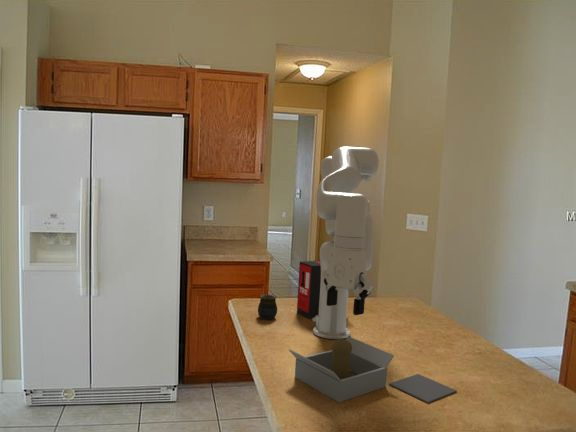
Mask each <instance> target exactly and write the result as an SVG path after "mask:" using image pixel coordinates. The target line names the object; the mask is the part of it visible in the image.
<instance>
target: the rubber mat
mask: <svg viewBox="0 0 576 432" xmlns="http://www.w3.org/2000/svg"><path fill="white" fill-rule="evenodd" d="M388 385H389V386H391V387H393V388H395V389H397V390H398V391H401V392H403V393H405V394H408V395H409V396H412V397H414V398H415V399H417V400H420V401H422V402H424V403H426V404H430V403H432V402H435V401H438V400H440V399H442V398H445V397H448V396H450V395H453V394H456V393H457V391H458V390H456V389H454V388H453V387H450V386H447V385H444V384H442V383H440V382H438V381H436V380H433V379H431V378H429V377H426V376H423V375H422V374H419V373H417V374H413V375H411V376H408V377H405V378H402V379H398V380H396V381H392V382H390V383H388Z"/></svg>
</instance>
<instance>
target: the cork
mask: <svg viewBox="0 0 576 432" xmlns="http://www.w3.org/2000/svg"><path fill="white" fill-rule="evenodd" d="M331 350H332V351H333V352H334V353H333V359H332V364H331V369H329V370H331V371H333V372H334V373H335V374H336V375H337V376H338V377H339V379H340V380H342V379H345V378H349V377H352V372H351V370H350V355H349V354H350V353H351V351H352V344H351V343H350V342H349V341H347V340H346V339H345V338H344V339H334V340H333V341H332V344H331Z"/></svg>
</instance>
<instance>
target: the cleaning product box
mask: <svg viewBox="0 0 576 432" xmlns="http://www.w3.org/2000/svg"><path fill="white" fill-rule="evenodd" d="M298 268H299V269H298V285H297V286H298V287H297V303H296V304H297V305H296V313H297V314H298V315H300V316H302V317H305V318H306V319H309V320H312V319H313V318H315V316H316V315H319V301H320V284H321V264H320V260H308V261H307V260H306V261H299V267H298Z"/></svg>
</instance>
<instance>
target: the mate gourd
mask: <svg viewBox="0 0 576 432" xmlns="http://www.w3.org/2000/svg"><path fill="white" fill-rule="evenodd" d="M259 300H260V301H259V304H258V306H257V314H258V317H260V319H262V320H272V319H274V318H276V316H277V313H278V306H277V302H276V296H274V295H273V294H267V293H266V294H262V295H260V299H259Z"/></svg>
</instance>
